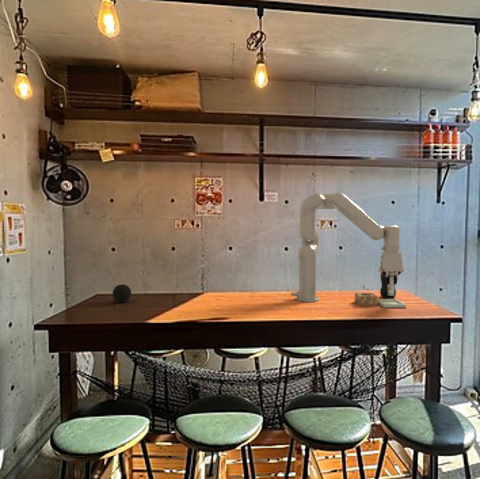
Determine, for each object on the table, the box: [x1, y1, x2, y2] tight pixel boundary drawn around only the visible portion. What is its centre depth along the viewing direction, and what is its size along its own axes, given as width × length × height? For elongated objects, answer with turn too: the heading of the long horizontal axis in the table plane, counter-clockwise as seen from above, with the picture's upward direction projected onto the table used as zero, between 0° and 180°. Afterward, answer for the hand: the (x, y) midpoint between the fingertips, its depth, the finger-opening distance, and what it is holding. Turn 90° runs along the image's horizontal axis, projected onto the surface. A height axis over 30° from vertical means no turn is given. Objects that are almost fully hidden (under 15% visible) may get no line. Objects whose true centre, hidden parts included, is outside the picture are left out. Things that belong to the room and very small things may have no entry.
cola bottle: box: [379, 270, 397, 299], centre depth 209 cm, size 8×8×30 cm
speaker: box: [112, 284, 132, 303], centre depth 203 cm, size 10×10×10 cm
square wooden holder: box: [354, 292, 378, 307], centre depth 196 cm, size 9×9×5 cm
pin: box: [388, 272, 396, 296], centre depth 192 cm, size 5×5×12 cm
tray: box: [377, 298, 407, 309], centre depth 192 cm, size 11×12×2 cm
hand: (390, 283), depth 192 cm, fingers closed on pin, 3 cm apart
